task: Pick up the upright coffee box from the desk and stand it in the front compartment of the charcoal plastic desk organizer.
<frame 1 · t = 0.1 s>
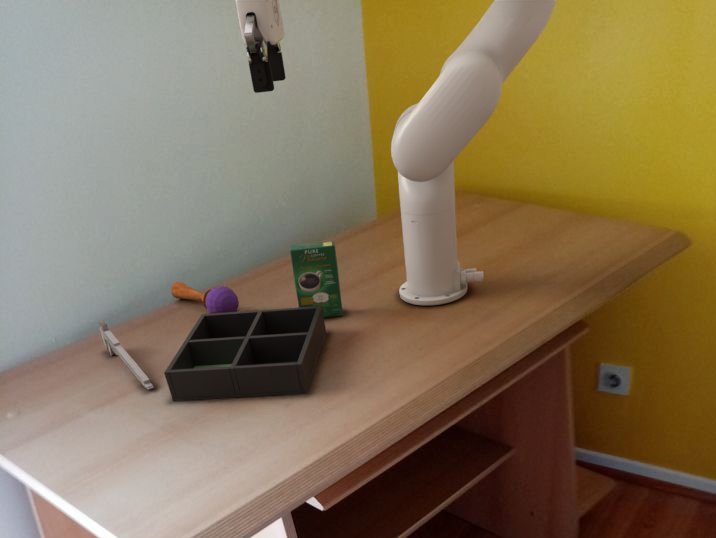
hand: (270, 86, 123), 37 cm above the table, tool pointing down, fingers open, 9 cm apart
organizer: (253, 365, 126), on the table
coffee box: (322, 316, 139), on the table
kendama: (206, 310, 147), on the table
caliper: (130, 371, 129), on the table
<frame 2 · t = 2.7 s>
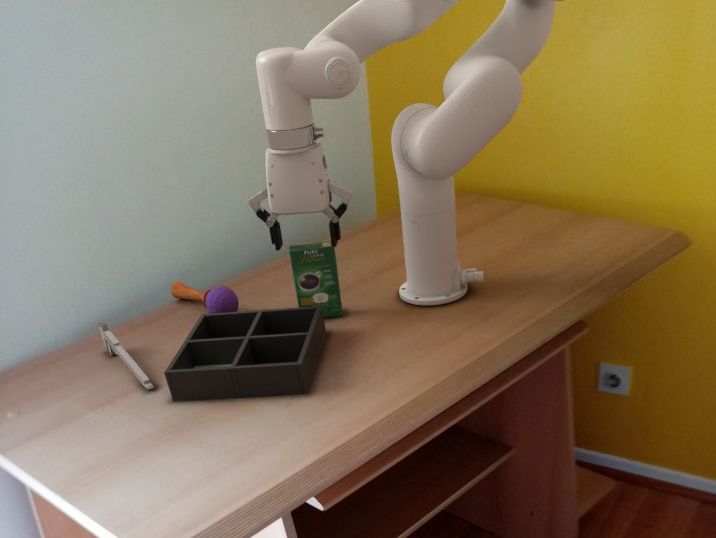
hand: (307, 246, 131), 13 cm above the table, tool pointing down, fingers open, 9 cm apart
coffee box: (322, 317, 139), on the table, touching gripper
everything else where it was.
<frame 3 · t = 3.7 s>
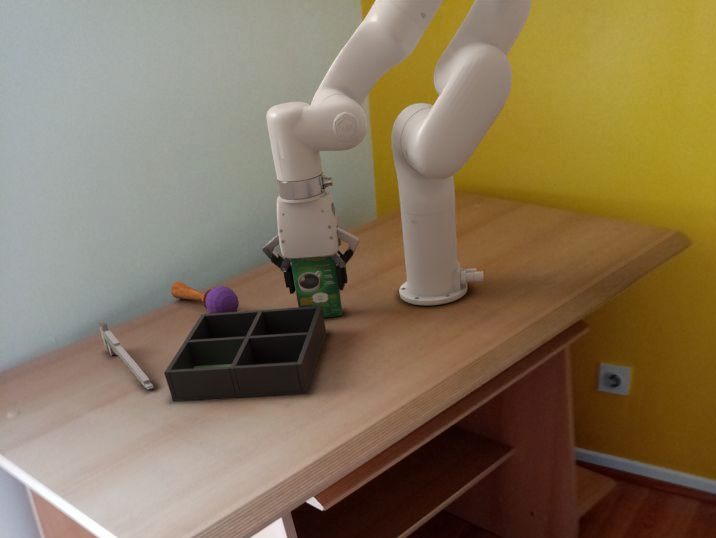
hand: (317, 288, 135), 5 cm above the table, tool pointing down, fingers closed on coffee box, 8 cm apart
coffee box: (322, 317, 139), on the table, touching gripper
everything else where it was.
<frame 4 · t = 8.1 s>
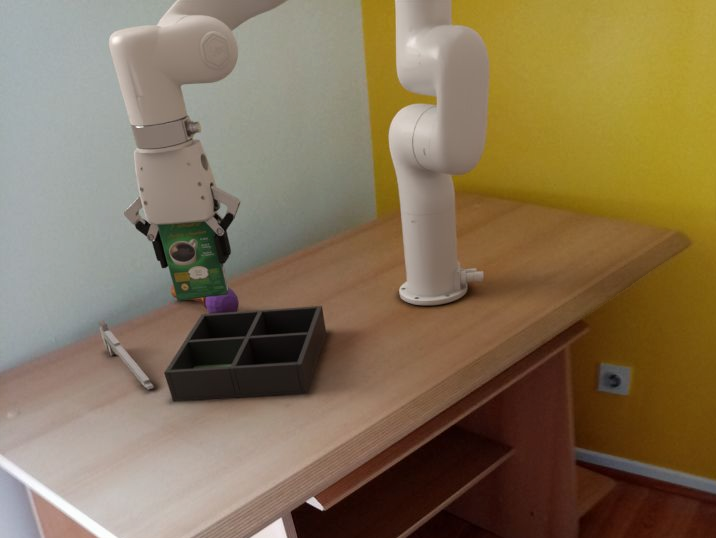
hand: (195, 262, 112), 19 cm above the table, tool pointing down, fingers closed on coffee box, 8 cm apart
coffee box: (205, 296, 115), point 14 cm above the table, touching gripper
everything else where it was.
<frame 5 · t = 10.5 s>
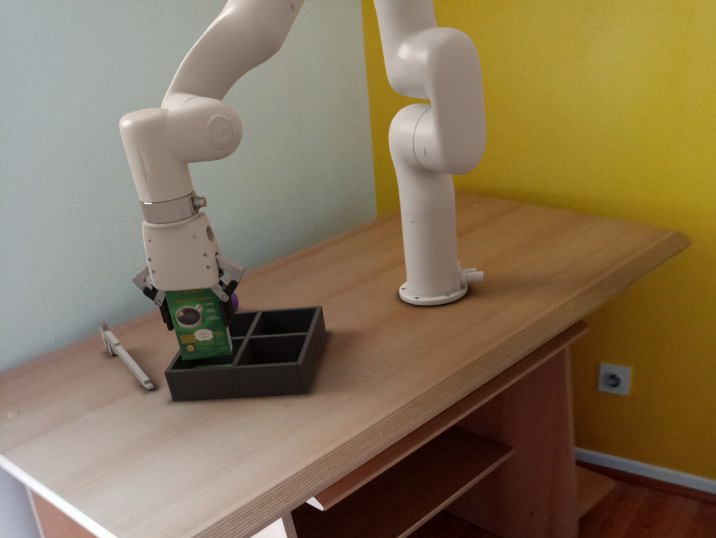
hand: (201, 324, 116), 10 cm above the table, tool pointing down, fingers closed on coffee box, 8 cm apart
coffee box: (209, 356, 120), point 5 cm above the table, touching gripper
everything else where it was.
when the fingers open (6 cm above the table, at t = 12.3 s): coffee box stays where it is, resting on organizer.
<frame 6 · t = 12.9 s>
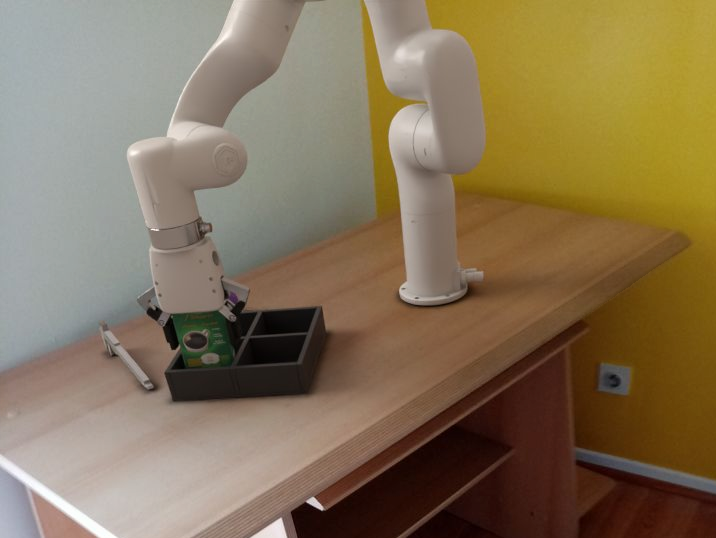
hand: (206, 344, 118), 7 cm above the table, tool pointing down, fingers open, 9 cm apart
coffee box: (215, 378, 122), point 1 cm above the table, touching organizer
everything else where it was.
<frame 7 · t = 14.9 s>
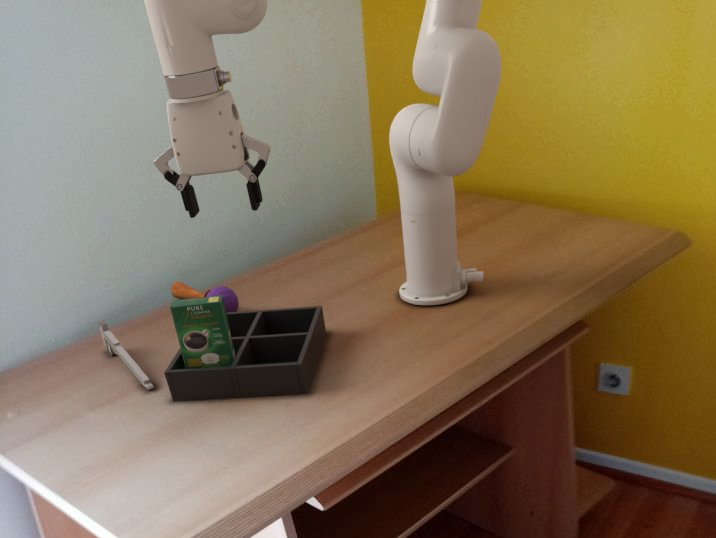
hand: (225, 211, 115), 23 cm above the table, tool pointing down, fingers open, 9 cm apart
nothing on the table moved.
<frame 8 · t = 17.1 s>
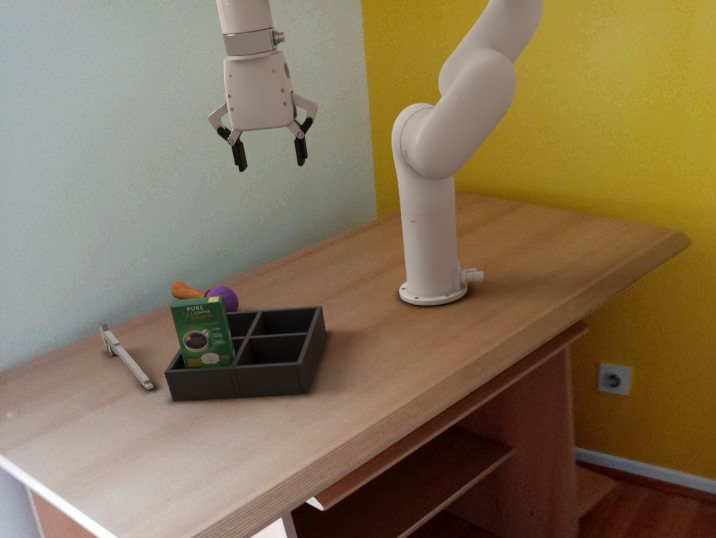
hand: (272, 167, 123), 26 cm above the table, tool pointing down, fingers open, 9 cm apart
nothing on the table moved.
at the end: coffee box 0.2 cm from the target spot in the organizer, point 0.5 cm above the organizer's base; coffee box tilted 0°; the gripper is holding nothing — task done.
